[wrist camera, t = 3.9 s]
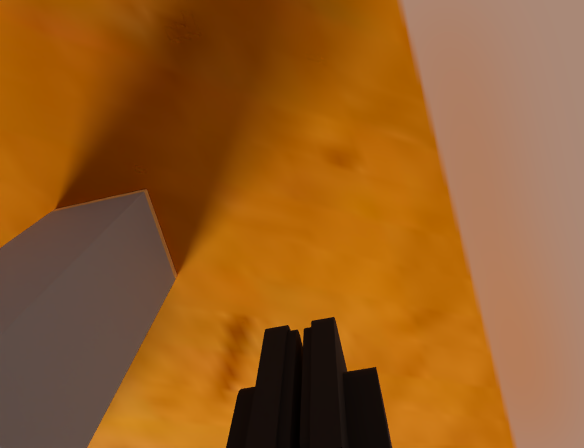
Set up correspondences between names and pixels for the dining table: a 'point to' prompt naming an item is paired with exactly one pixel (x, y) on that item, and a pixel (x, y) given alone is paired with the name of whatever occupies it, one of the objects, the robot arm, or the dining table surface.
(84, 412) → the slate block
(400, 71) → the dining table surface
